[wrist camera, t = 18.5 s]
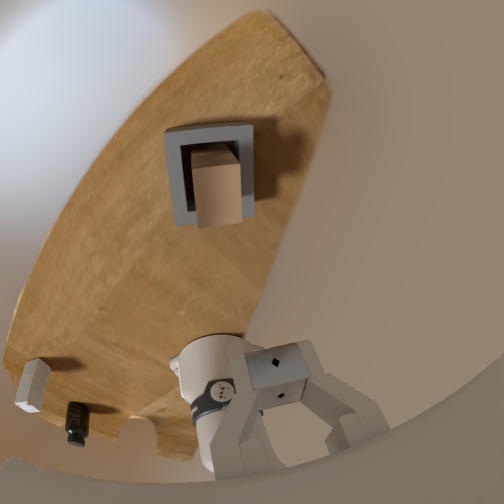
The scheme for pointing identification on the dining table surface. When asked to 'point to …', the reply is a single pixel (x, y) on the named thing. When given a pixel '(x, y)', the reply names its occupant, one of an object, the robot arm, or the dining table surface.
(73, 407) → the supplement bottle
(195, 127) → the holder
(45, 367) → the skincare box
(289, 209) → the dining table surface
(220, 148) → the walnut peg
